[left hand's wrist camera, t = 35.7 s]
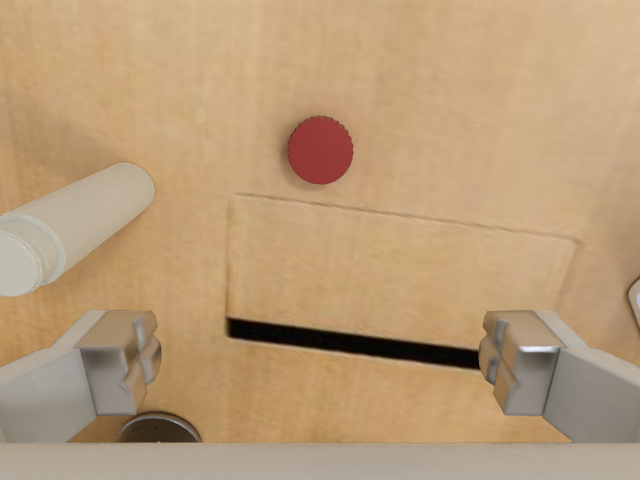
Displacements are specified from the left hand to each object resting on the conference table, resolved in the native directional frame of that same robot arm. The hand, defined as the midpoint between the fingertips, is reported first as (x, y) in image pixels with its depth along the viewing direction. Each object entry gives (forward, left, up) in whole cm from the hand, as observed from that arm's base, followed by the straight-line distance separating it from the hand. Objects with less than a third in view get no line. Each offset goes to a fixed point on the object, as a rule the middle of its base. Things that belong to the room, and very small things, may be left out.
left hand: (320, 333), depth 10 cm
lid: (0, 0, -25) cm, 25 cm away
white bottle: (+2, +17, -27) cm, 32 cm away
